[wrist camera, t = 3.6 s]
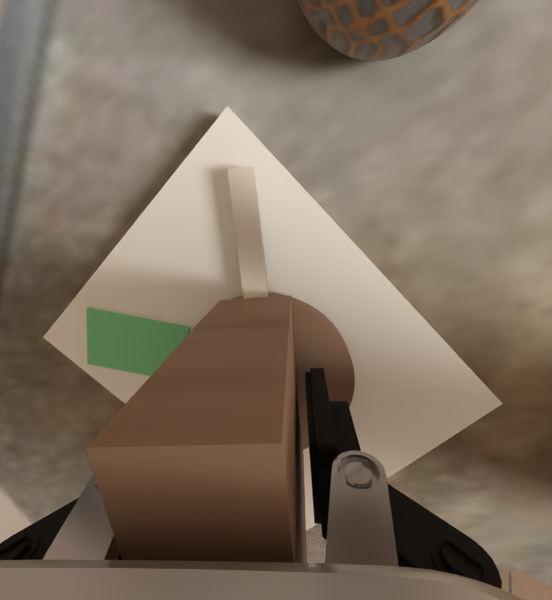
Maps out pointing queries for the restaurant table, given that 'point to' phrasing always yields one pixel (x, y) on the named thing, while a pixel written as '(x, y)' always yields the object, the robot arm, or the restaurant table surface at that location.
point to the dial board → (281, 280)
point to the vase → (382, 24)
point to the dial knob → (223, 423)
